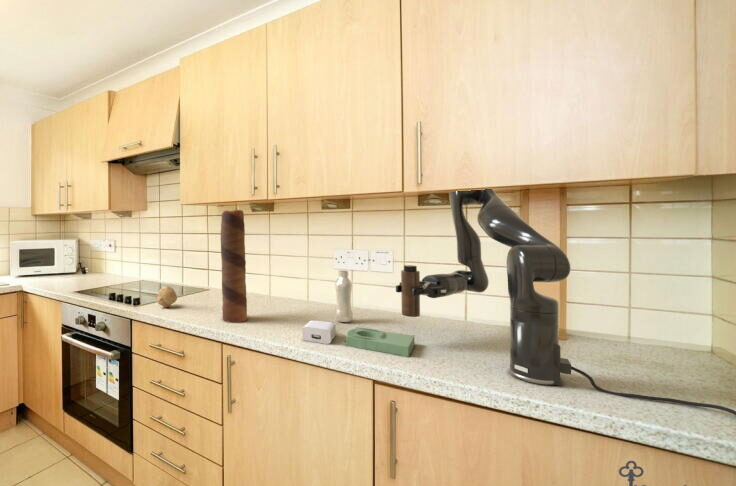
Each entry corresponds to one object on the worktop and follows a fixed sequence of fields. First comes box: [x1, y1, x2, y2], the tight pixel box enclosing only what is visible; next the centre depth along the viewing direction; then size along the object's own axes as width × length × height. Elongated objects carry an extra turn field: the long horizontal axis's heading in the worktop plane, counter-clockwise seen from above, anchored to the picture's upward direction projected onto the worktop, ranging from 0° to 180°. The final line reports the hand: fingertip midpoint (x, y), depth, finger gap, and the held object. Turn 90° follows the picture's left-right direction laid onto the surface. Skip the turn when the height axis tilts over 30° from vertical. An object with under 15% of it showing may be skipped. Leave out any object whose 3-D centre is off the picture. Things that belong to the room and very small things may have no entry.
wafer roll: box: [220, 209, 248, 323], centre depth 147 cm, size 10×11×45 cm
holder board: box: [345, 326, 416, 358], centre depth 116 cm, size 19×12×3 cm, turn 55°
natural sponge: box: [156, 285, 178, 308], centre depth 171 cm, size 9×9×10 cm
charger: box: [301, 320, 337, 345], centre depth 125 cm, size 5×9×15 cm
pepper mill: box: [400, 264, 421, 318], centre depth 115 cm, size 5×5×16 cm
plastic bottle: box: [334, 270, 354, 323], centre depth 143 cm, size 6×7×20 cm
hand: (404, 290), depth 113 cm, fingers closed on pepper mill, 5 cm apart
